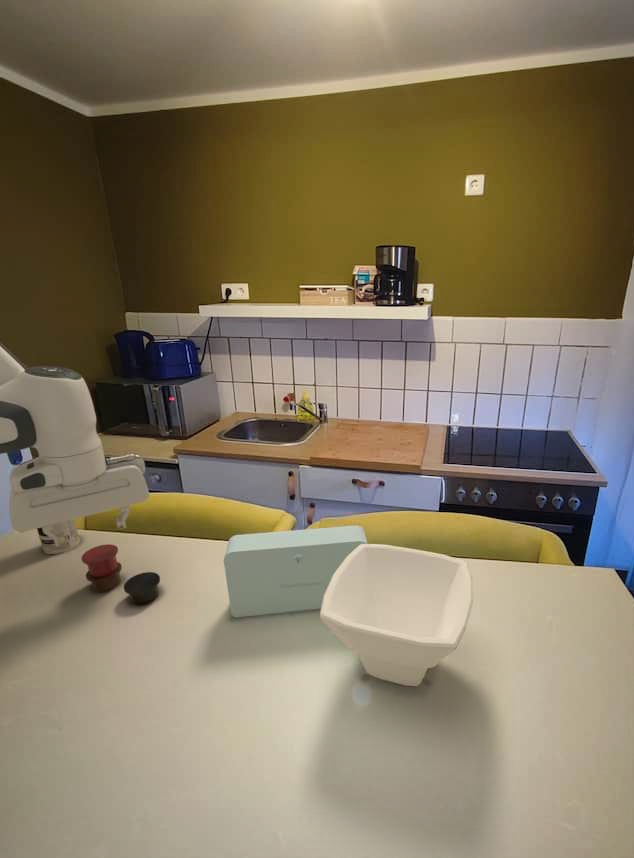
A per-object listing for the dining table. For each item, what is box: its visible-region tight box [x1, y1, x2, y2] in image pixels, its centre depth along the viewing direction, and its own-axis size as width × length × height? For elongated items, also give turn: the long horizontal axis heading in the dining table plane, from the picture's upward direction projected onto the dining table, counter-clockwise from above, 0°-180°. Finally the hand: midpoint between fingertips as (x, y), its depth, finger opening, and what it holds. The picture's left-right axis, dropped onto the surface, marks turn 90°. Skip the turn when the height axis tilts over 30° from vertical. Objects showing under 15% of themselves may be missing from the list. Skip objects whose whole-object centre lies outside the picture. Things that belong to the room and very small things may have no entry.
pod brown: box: [85, 561, 123, 593], centre depth 80 cm, size 6×6×4 cm
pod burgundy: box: [81, 543, 119, 577], centre depth 79 cm, size 6×6×4 cm
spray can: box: [19, 458, 81, 555], centre depth 90 cm, size 7×7×20 cm
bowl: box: [319, 543, 474, 687], centre depth 61 cm, size 19×19×14 cm
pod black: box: [123, 571, 161, 606], centre depth 76 cm, size 6×6×4 cm
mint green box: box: [223, 524, 369, 618], centre depth 73 cm, size 23×6×13 cm, turn 98°
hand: (92, 535), depth 77 cm, fingers open, 8 cm apart
